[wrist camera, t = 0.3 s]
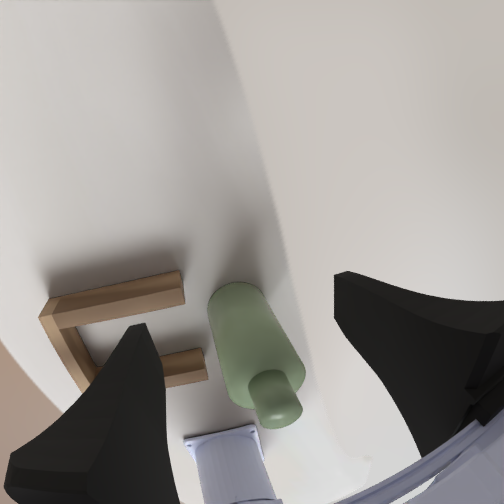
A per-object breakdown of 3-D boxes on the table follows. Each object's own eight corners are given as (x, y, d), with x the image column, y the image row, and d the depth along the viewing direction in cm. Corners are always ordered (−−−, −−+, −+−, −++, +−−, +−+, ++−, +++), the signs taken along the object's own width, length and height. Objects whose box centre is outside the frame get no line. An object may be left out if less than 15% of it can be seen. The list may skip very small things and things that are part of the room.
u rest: (204, 358, 24) (208, 379, 21) (90, 378, 22) (86, 399, 19) (179, 270, 20) (180, 287, 18) (48, 299, 18) (37, 317, 16)
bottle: (267, 324, 24) (321, 424, 14) (213, 337, 23) (244, 448, 14) (261, 276, 22) (324, 374, 13) (201, 290, 21) (229, 402, 12)
